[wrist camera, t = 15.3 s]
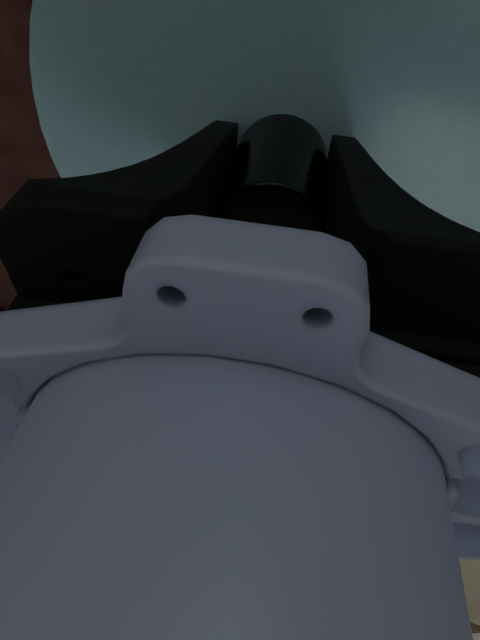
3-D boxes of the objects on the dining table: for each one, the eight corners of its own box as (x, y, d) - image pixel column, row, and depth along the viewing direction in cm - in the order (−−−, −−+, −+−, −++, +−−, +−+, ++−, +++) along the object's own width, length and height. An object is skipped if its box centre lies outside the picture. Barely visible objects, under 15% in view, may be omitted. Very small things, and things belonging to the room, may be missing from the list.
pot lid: (764, -221, 7) (1080, -269, 4) (431, 329, 18) (451, 429, 15) (-46, -280, 8) (-280, -355, 5) (99, 280, 19) (53, 365, 16)
